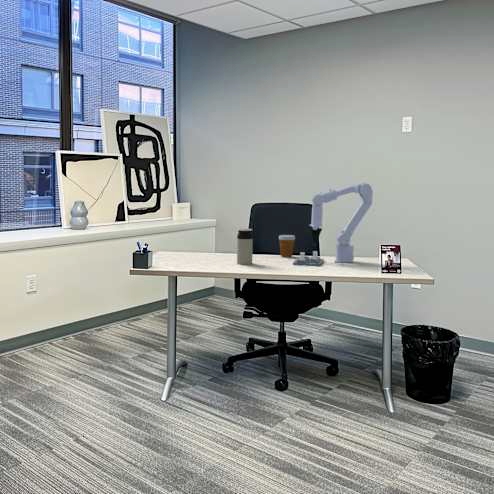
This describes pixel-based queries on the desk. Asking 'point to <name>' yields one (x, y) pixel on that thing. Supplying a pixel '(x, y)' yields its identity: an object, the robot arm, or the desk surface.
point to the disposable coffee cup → (286, 245)
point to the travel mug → (244, 246)
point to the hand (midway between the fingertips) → (315, 241)
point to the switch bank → (308, 261)
